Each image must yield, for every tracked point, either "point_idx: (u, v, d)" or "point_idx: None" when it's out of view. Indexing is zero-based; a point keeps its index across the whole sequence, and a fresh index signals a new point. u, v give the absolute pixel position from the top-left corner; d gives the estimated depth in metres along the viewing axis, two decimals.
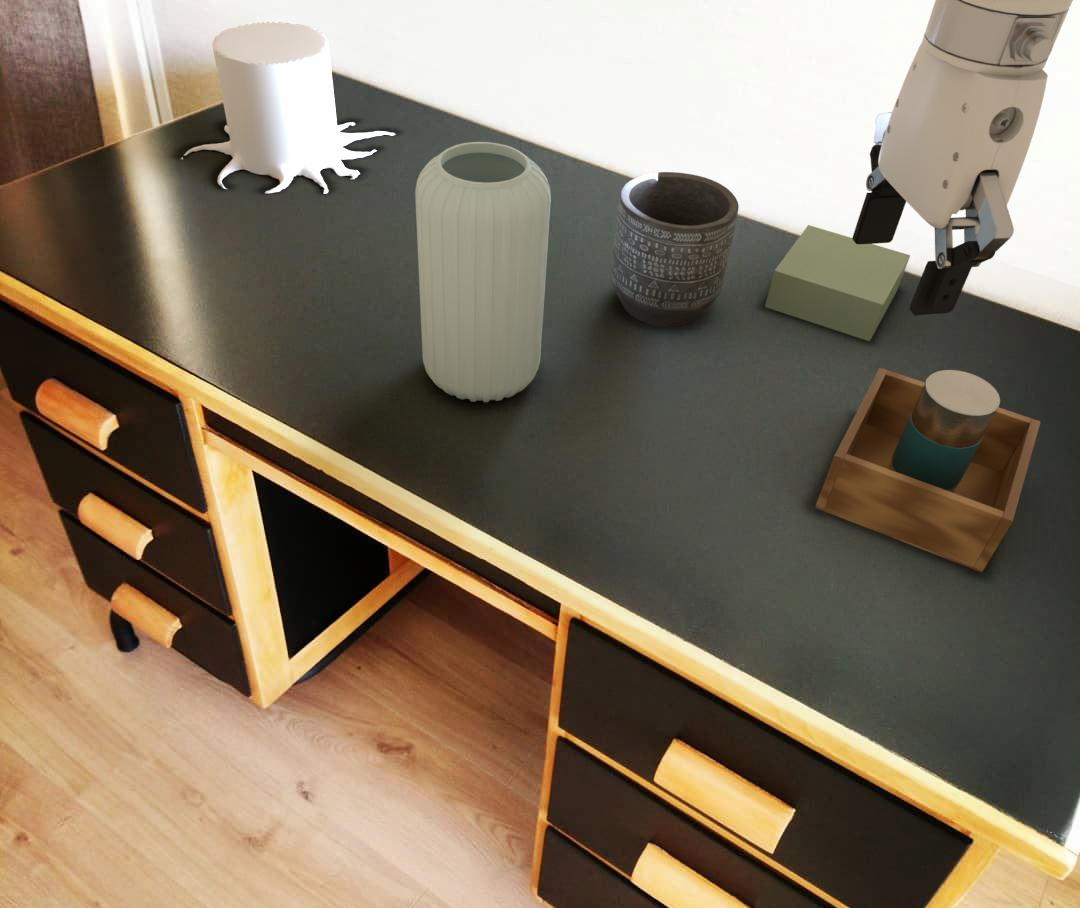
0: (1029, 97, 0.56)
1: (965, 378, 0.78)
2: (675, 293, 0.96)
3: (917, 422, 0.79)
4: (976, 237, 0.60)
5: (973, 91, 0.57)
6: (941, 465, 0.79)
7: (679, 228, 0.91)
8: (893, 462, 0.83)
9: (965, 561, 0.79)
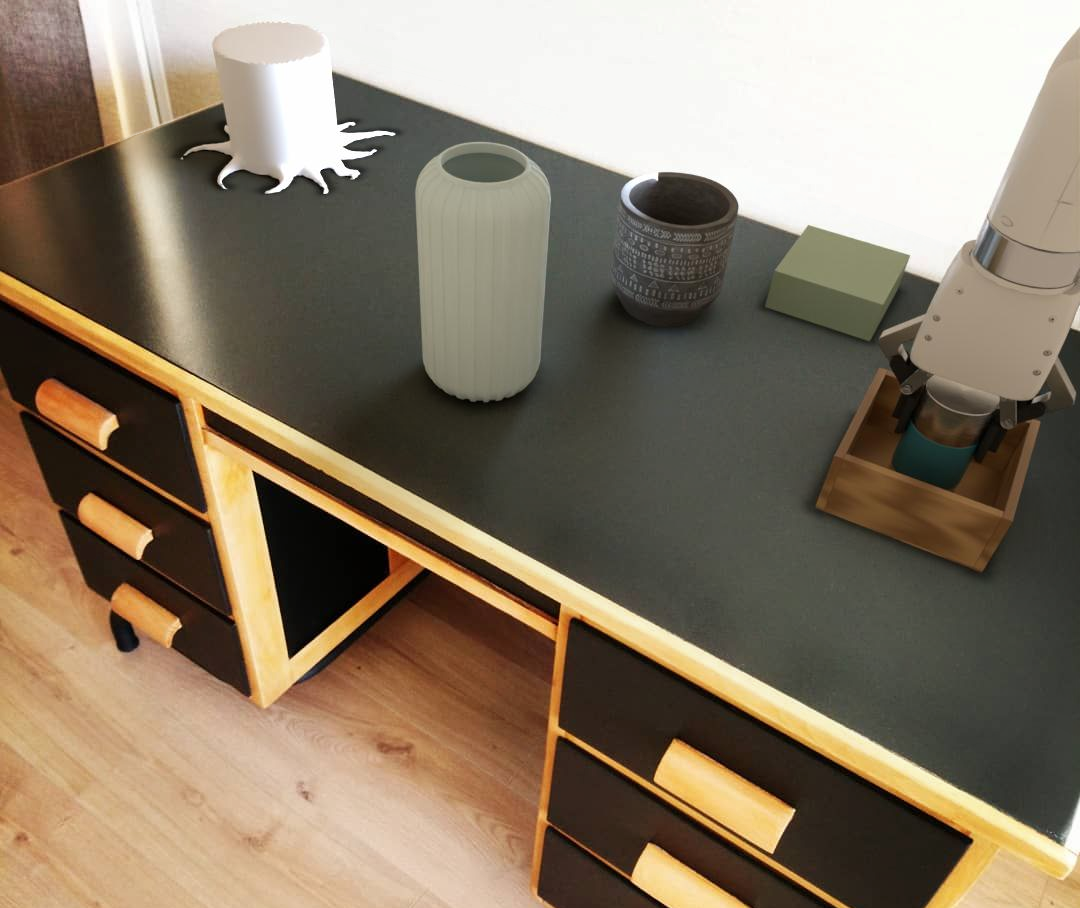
0: None
1: None
2: (675, 293, 0.96)
3: (917, 422, 0.79)
4: (1044, 401, 0.74)
5: (1060, 307, 0.67)
6: (941, 465, 0.79)
7: (679, 228, 0.91)
8: (893, 462, 0.83)
9: (965, 561, 0.79)
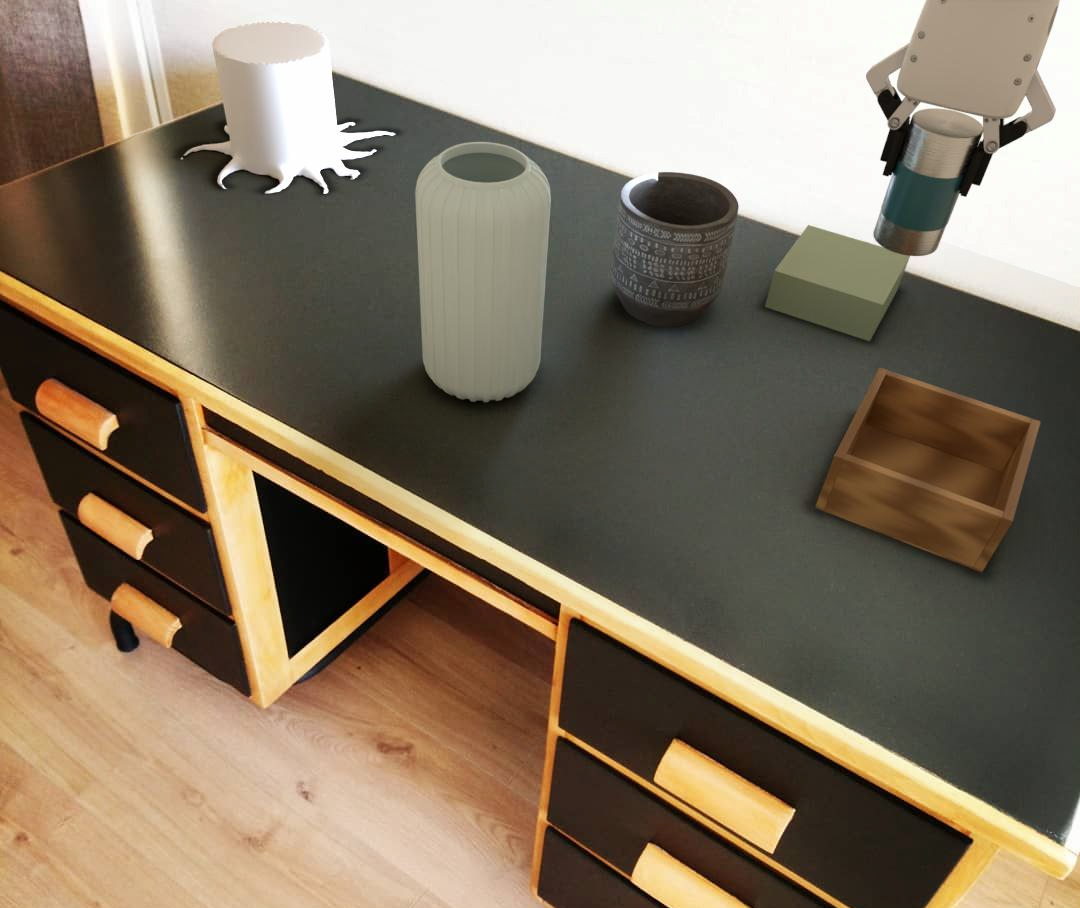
0: None
1: (950, 114, 0.82)
2: (675, 293, 0.96)
3: (904, 158, 0.82)
4: (1026, 119, 0.77)
5: (1038, 3, 0.71)
6: (928, 200, 0.82)
7: (679, 228, 0.91)
8: (882, 209, 0.86)
9: (965, 561, 0.79)
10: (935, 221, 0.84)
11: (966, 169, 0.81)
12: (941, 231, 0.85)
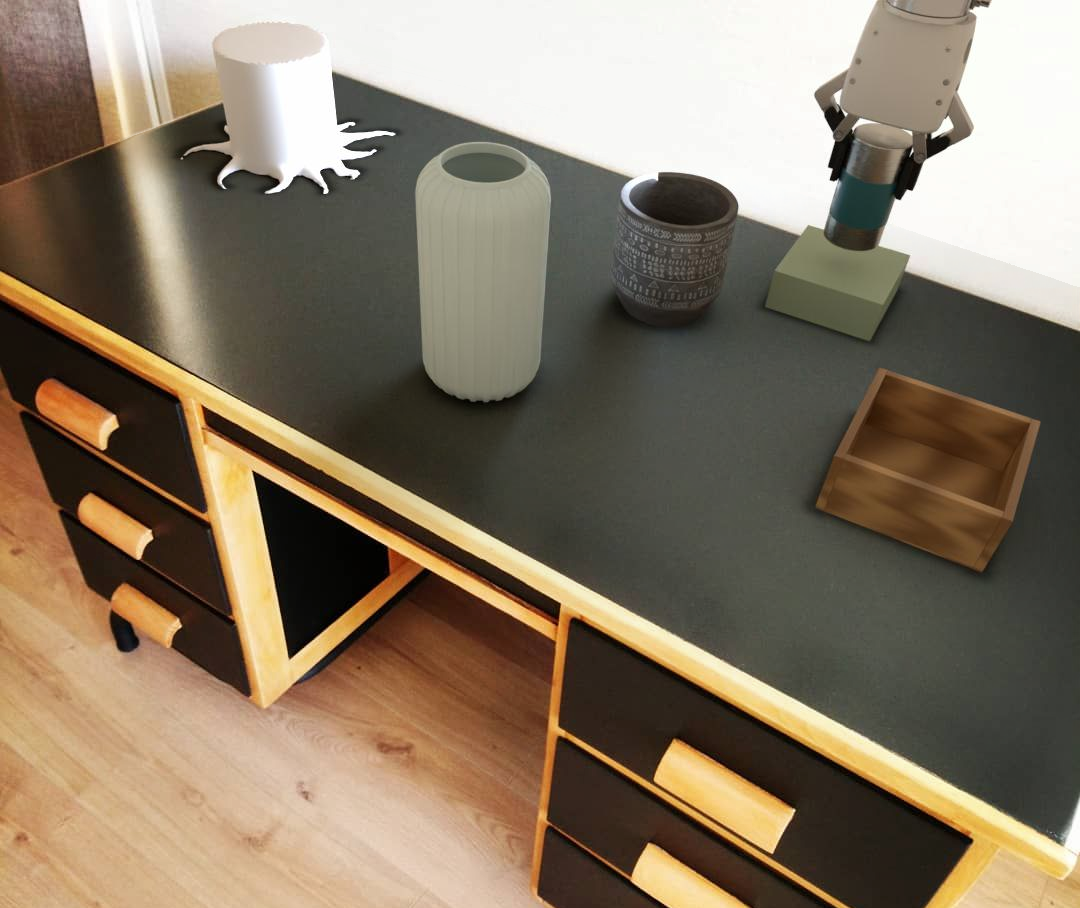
0: (974, 29, 0.85)
1: (887, 128, 0.94)
2: (675, 293, 0.96)
3: (847, 165, 0.95)
4: (948, 134, 0.90)
5: (954, 37, 0.83)
6: (868, 202, 0.95)
7: (679, 228, 0.91)
8: (830, 210, 0.99)
9: (965, 561, 0.79)
10: (874, 221, 0.97)
11: (900, 176, 0.94)
12: (880, 230, 0.98)
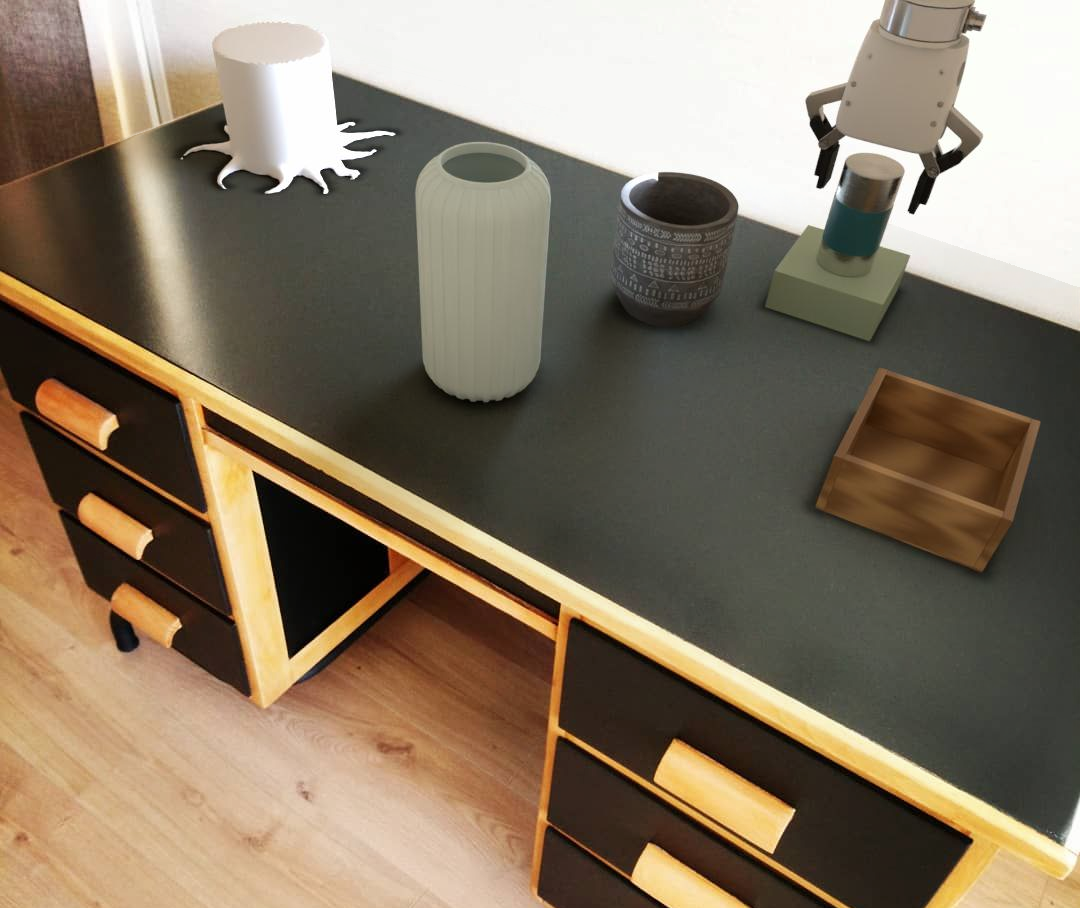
0: (967, 52, 0.86)
1: (878, 158, 0.97)
2: (675, 293, 0.96)
3: (839, 194, 0.97)
4: (959, 148, 0.90)
5: (947, 60, 0.85)
6: (859, 230, 0.97)
7: (679, 228, 0.91)
8: (823, 237, 1.01)
9: (965, 561, 0.79)
10: (866, 248, 0.99)
11: (890, 205, 0.96)
12: (872, 256, 1.00)
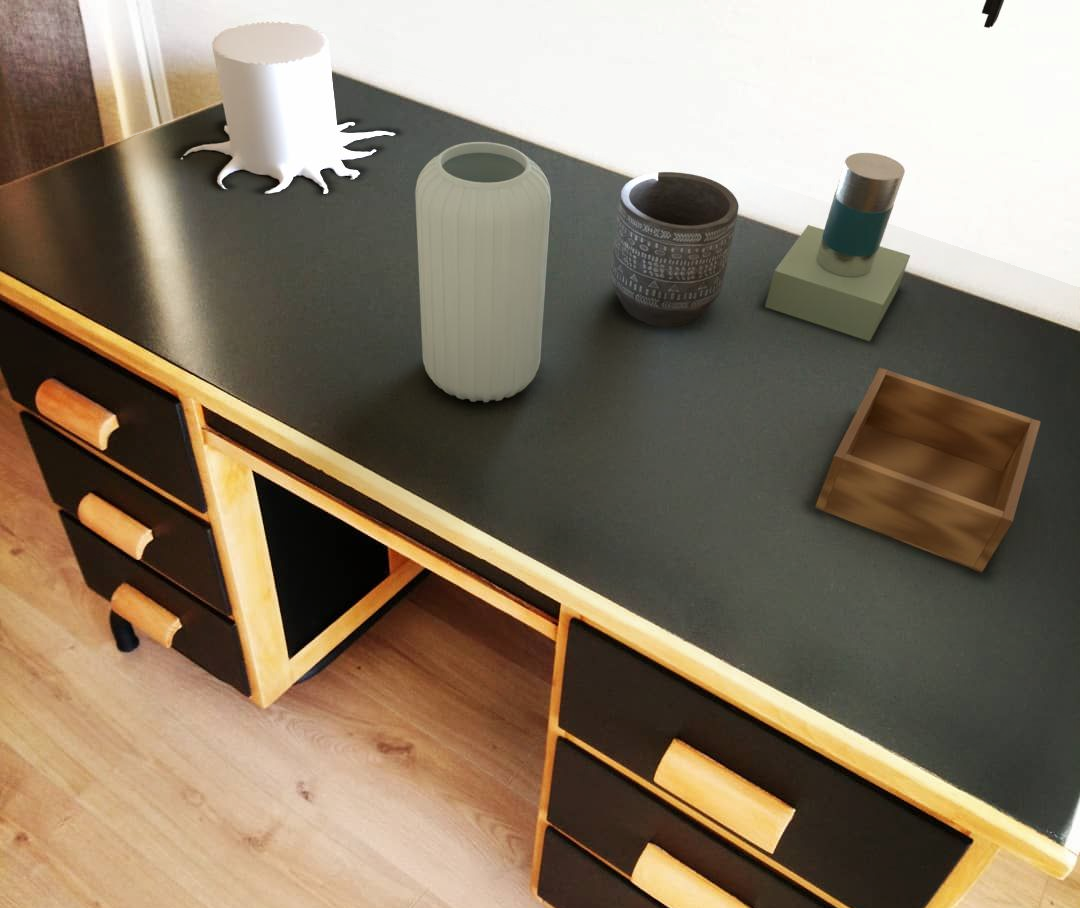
0: None
1: (878, 158, 0.97)
2: (675, 293, 0.96)
3: (839, 194, 0.97)
4: None
5: None
6: (859, 230, 0.97)
7: (679, 228, 0.91)
8: (823, 237, 1.01)
9: (965, 561, 0.79)
10: (866, 248, 0.99)
11: (890, 205, 0.96)
12: (872, 256, 1.00)
